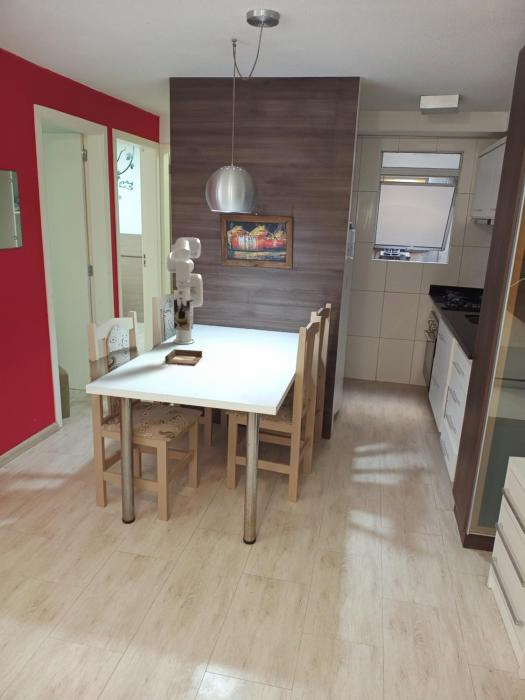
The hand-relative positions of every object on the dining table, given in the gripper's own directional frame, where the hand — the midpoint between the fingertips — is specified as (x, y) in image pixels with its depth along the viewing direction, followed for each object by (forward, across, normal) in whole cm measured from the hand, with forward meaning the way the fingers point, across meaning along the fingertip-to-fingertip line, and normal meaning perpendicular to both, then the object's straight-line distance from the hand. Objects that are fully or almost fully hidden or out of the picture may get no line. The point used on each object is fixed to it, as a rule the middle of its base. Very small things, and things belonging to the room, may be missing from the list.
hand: (183, 317), depth 281 cm
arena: (+24, -2, 0) cm, 24 cm away
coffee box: (+7, 0, 0) cm, 7 cm away
